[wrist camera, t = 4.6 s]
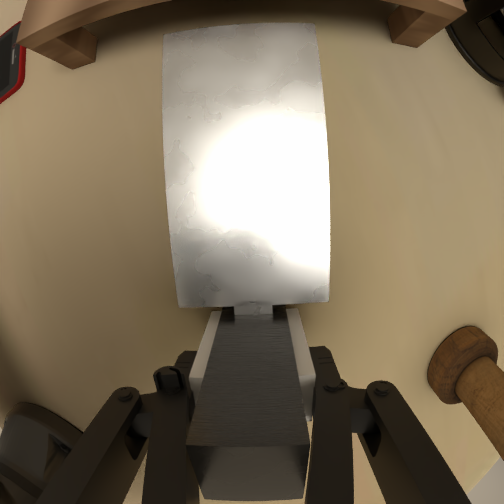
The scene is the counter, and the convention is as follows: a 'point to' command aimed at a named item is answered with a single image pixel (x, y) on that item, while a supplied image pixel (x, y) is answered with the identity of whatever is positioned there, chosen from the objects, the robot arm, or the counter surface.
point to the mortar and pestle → (471, 379)
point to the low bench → (111, 3)
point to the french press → (479, 38)
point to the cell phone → (11, 63)
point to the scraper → (247, 239)
